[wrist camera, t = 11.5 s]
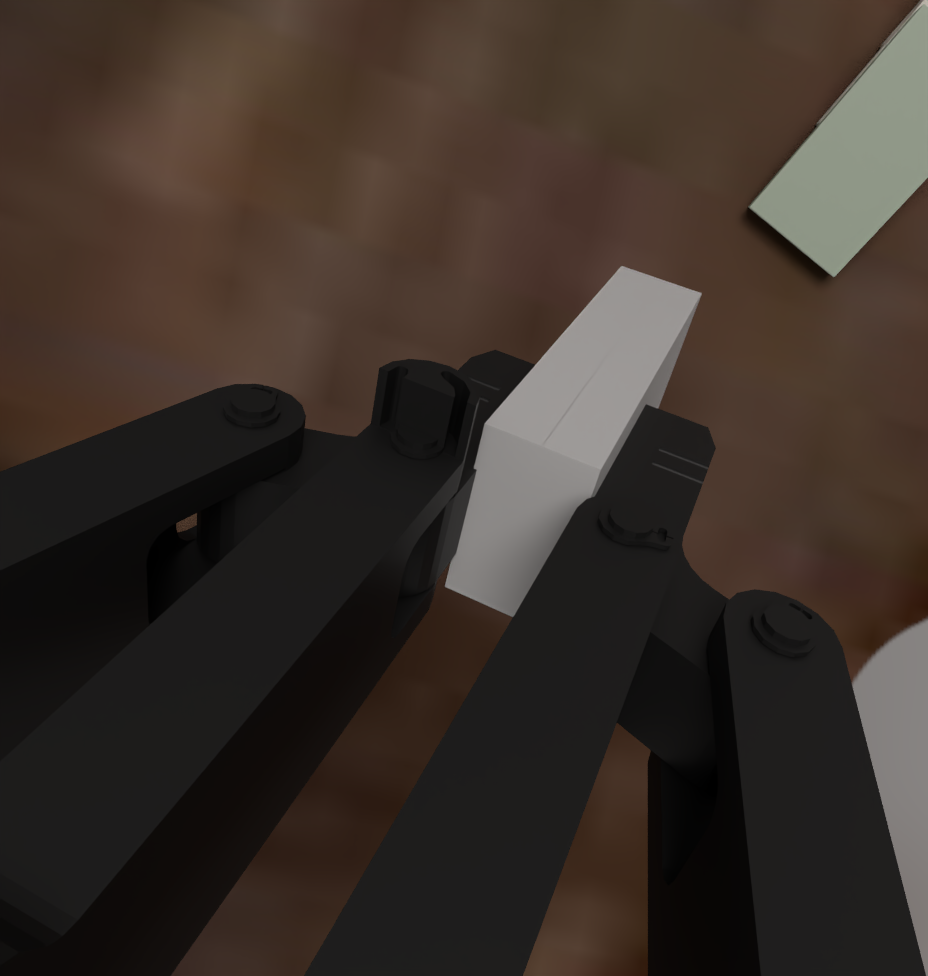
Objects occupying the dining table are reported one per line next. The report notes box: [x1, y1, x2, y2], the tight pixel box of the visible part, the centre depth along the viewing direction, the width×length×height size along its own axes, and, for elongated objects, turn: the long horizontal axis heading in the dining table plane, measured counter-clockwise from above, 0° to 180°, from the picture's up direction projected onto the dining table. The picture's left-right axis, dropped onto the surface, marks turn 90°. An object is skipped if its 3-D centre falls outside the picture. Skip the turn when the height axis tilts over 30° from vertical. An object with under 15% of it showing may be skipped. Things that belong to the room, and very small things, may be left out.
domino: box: [748, 4, 928, 277], centre depth 38 cm, size 2×5×10 cm
